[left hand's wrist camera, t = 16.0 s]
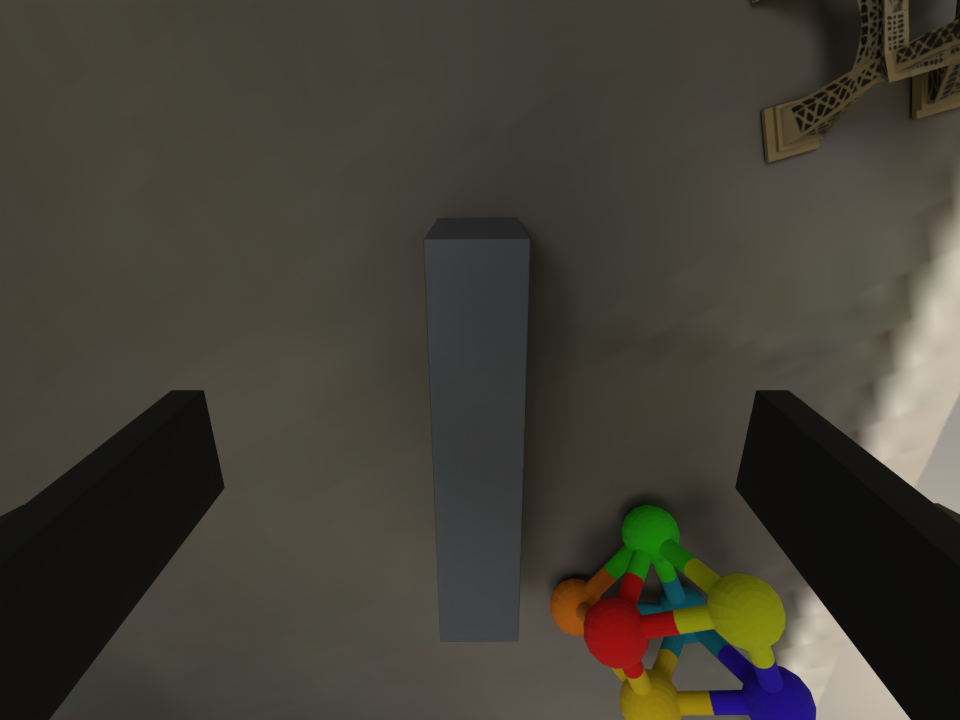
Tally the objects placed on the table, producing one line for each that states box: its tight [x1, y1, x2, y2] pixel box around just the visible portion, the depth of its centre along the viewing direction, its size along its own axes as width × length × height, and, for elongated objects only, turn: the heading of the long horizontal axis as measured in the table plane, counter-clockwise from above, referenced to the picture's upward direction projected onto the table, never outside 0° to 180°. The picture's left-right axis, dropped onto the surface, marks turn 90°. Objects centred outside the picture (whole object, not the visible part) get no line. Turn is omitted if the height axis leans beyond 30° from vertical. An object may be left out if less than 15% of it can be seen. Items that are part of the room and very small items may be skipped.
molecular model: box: [550, 505, 816, 720], centre depth 33 cm, size 15×12×15 cm
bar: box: [424, 218, 530, 642], centre depth 31 cm, size 24×5×8 cm, turn 0°
